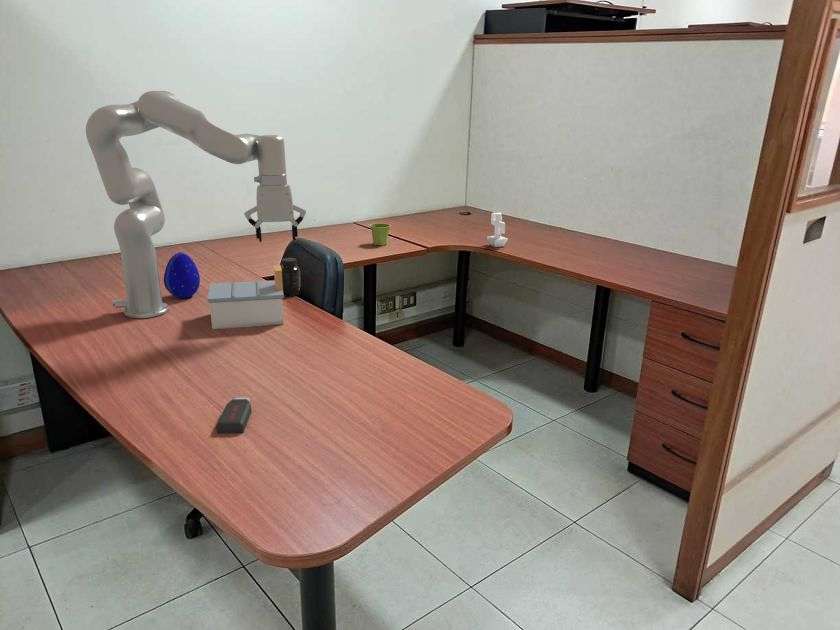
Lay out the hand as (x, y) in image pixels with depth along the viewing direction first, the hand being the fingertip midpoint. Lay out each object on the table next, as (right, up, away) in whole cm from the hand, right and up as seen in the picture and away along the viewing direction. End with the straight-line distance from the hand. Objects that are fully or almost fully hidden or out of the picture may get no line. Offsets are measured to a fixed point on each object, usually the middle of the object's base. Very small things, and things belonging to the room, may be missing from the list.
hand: (277, 240), depth 180 cm
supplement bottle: (-2, -15, +29) cm, 33 cm away
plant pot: (+24, +10, +99) cm, 102 cm away
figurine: (+77, +10, +102) cm, 128 cm away
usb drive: (+3, -44, -50) cm, 67 cm away
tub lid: (-10, -15, +3) cm, 18 cm away
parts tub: (-10, -23, +6) cm, 26 cm away
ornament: (-36, -16, +24) cm, 46 cm away
